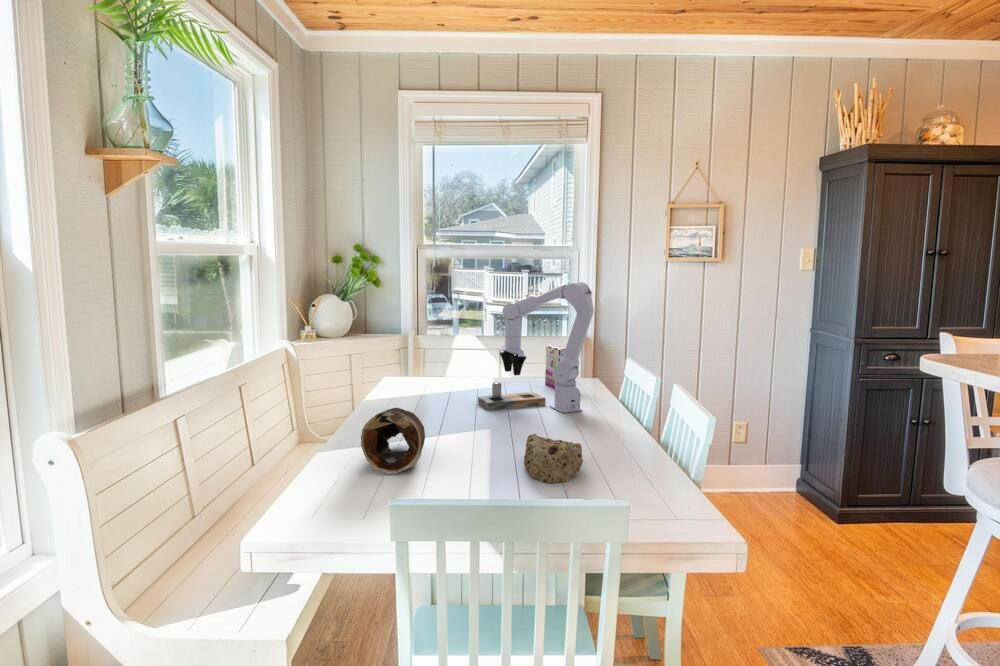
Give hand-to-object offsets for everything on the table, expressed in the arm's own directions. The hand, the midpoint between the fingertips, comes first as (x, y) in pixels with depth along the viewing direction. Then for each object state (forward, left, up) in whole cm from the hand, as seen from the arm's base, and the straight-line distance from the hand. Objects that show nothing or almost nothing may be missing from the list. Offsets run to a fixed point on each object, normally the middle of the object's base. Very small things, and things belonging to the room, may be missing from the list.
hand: (512, 373), depth 217 cm
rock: (-68, +19, -11) cm, 71 cm away
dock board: (-4, +2, -10) cm, 11 cm away
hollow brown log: (-46, +53, -11) cm, 71 cm away
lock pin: (-4, +8, -10) cm, 14 cm away
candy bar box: (+16, -27, -11) cm, 33 cm away
